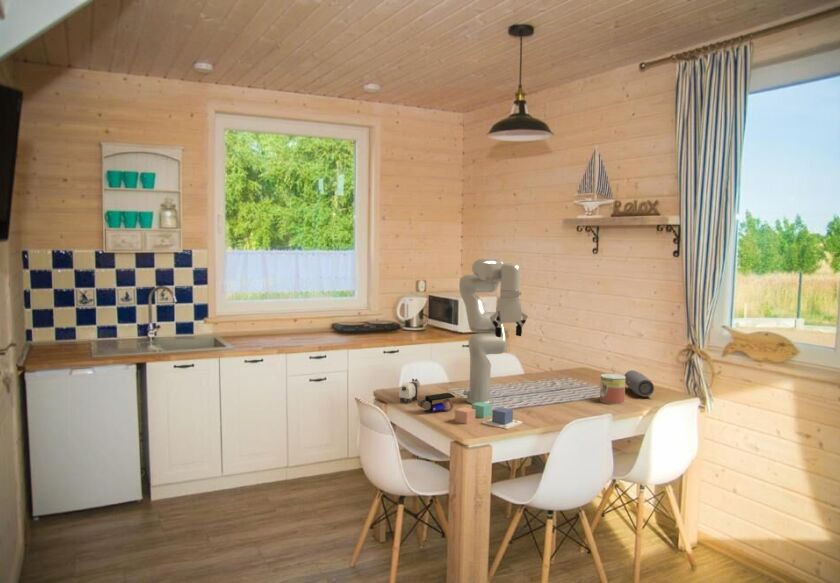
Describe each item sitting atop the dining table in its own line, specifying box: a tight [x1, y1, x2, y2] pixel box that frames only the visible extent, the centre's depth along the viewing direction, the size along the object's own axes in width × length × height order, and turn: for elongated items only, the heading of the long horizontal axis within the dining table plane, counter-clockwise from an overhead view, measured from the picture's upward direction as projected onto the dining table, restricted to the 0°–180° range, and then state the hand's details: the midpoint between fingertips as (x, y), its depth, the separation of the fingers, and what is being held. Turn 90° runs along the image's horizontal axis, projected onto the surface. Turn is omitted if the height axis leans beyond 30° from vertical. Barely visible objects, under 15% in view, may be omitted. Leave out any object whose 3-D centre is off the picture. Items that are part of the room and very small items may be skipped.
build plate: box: [481, 407, 524, 430], centre depth 267 cm, size 12×12×6 cm
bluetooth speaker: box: [624, 370, 655, 397], centre depth 324 cm, size 23×9×10 cm, turn 178°
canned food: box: [599, 373, 626, 405], centre depth 307 cm, size 11×11×12 cm
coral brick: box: [454, 406, 476, 425], centre depth 270 cm, size 6×6×5 cm
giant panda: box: [398, 378, 421, 404], centre depth 303 cm, size 15×6×10 cm, turn 152°
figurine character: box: [417, 392, 456, 414], centre depth 284 cm, size 7×8×15 cm
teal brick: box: [471, 402, 493, 419], centre depth 279 cm, size 6×6×5 cm
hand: (508, 336), depth 269 cm, fingers open, 9 cm apart
